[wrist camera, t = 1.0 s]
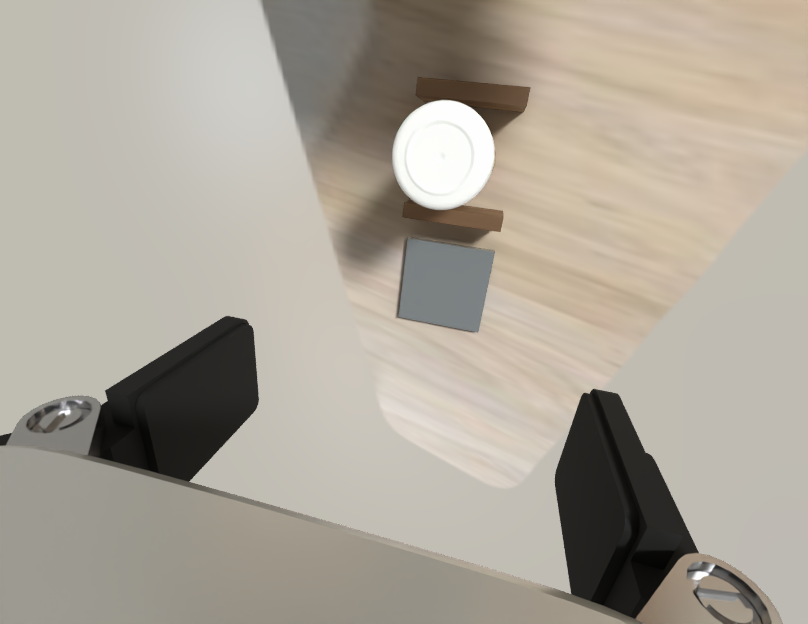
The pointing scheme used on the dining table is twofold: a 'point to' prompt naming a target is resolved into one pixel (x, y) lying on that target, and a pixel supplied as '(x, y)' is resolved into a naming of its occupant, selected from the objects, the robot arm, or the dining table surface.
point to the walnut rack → (472, 97)
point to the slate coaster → (445, 283)
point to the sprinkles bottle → (443, 155)
